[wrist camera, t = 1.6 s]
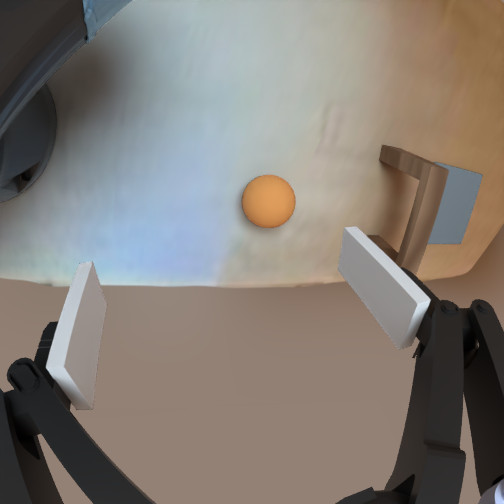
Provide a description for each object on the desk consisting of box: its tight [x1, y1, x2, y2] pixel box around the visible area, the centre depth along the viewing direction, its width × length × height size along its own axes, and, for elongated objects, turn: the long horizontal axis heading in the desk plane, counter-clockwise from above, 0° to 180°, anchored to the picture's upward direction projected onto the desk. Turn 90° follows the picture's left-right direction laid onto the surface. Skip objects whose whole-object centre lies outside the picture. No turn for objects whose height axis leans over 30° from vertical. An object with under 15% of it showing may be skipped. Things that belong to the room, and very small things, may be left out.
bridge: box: [366, 145, 449, 276], centre depth 35 cm, size 3×14×9 cm, turn 173°
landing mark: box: [427, 162, 482, 244], centre depth 42 cm, size 13×13×1 cm
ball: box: [242, 175, 295, 228], centre depth 32 cm, size 6×6×6 cm
